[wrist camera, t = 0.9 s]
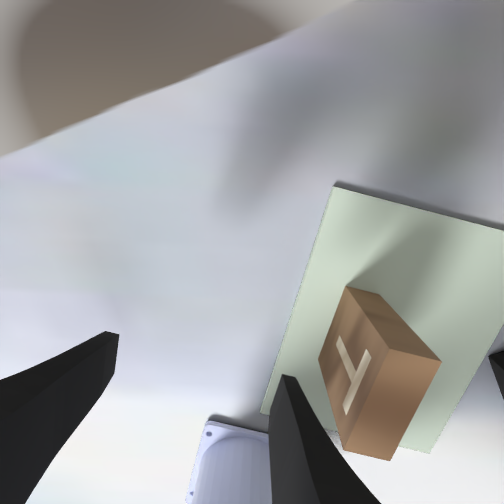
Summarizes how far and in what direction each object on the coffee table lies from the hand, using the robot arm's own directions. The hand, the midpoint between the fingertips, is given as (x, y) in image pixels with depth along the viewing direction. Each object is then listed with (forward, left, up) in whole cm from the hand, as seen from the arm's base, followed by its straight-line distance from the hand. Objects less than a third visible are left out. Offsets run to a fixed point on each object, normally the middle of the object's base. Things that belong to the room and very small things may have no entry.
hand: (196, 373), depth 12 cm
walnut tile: (0, -9, -8) cm, 12 cm away
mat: (0, -12, -8) cm, 14 cm away
